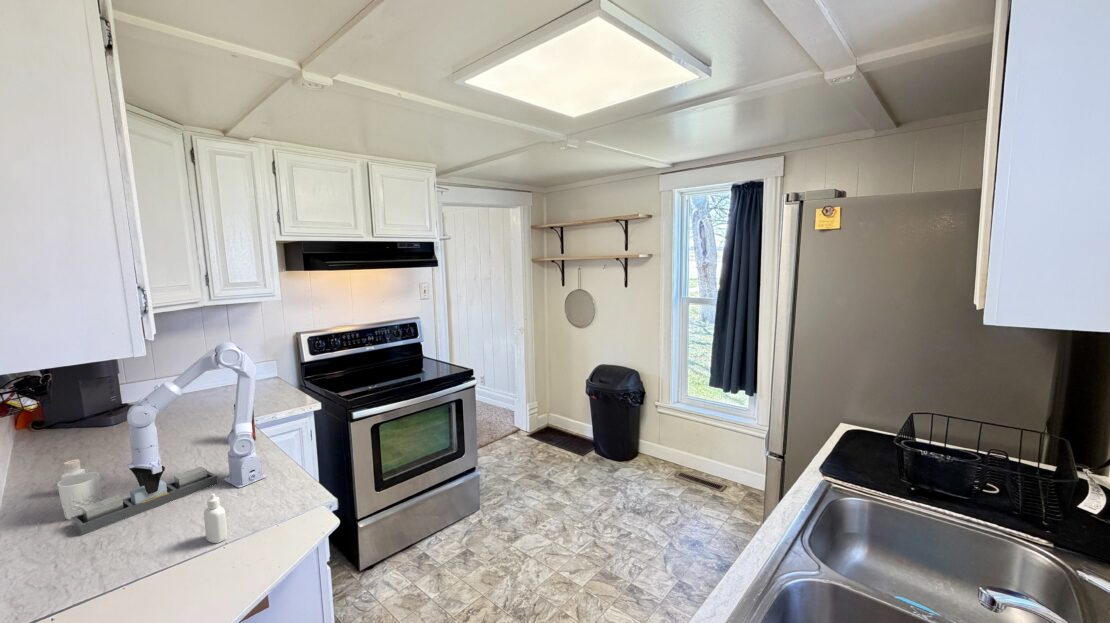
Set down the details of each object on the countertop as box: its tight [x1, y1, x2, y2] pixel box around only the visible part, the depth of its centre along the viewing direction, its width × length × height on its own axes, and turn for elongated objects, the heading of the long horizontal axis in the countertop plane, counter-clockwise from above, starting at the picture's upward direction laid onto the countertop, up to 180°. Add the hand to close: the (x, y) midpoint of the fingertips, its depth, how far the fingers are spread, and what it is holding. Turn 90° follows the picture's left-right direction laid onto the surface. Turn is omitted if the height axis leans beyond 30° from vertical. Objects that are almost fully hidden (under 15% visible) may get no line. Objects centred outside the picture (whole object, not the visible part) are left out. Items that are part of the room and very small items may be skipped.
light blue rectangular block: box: [129, 479, 167, 505], centre depth 128 cm, size 4×7×4 cm, turn 150°
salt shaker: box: [60, 458, 86, 481], centre depth 134 cm, size 4×4×10 cm
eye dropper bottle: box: [203, 493, 228, 544], centre depth 113 cm, size 4×6×12 cm
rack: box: [70, 466, 219, 536], centre depth 128 cm, size 7×30×5 cm, turn 150°
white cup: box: [56, 471, 101, 521], centre depth 123 cm, size 8×8×10 cm
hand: (149, 490), depth 128 cm, fingers closed on light blue rectangular block, 3 cm apart
